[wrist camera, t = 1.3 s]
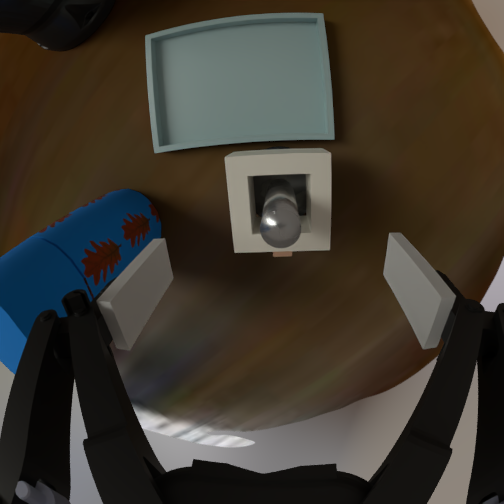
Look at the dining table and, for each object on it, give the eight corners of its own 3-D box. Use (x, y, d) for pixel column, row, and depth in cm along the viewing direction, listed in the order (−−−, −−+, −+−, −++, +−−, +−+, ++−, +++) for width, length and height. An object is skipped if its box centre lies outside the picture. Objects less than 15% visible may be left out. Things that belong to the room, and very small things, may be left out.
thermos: (142, 174, 33) (-16, 266, 11) (175, 246, 37) (74, 394, 15) (87, 205, 36) (-44, 295, 13) (118, 267, 40) (19, 385, 17)
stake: (239, 148, 31) (207, 167, 18) (317, 145, 30) (347, 162, 17) (245, 221, 35) (223, 287, 21) (318, 218, 34) (341, 284, 20)
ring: (233, 151, 27) (224, 157, 23) (322, 148, 26) (330, 152, 22) (242, 249, 32) (236, 271, 28) (322, 247, 31) (329, 268, 27)
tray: (151, 39, 25) (145, 35, 23) (320, 19, 23) (323, 13, 21) (161, 151, 32) (154, 153, 30) (331, 138, 29) (334, 139, 28)
